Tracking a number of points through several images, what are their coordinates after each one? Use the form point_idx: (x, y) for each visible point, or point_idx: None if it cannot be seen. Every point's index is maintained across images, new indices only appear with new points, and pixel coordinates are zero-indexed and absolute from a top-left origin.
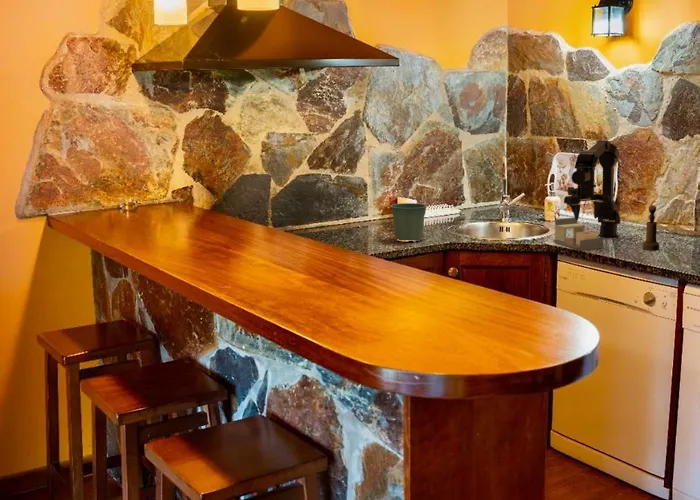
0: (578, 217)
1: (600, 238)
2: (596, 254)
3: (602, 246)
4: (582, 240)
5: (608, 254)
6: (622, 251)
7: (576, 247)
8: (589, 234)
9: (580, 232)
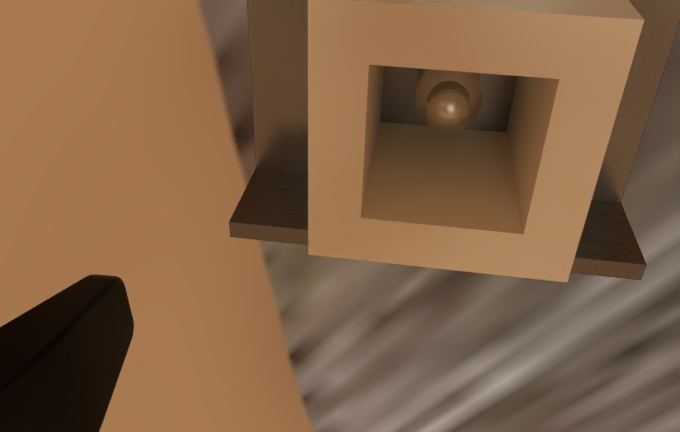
0: (96, 423)
1: (587, 269)
2: (301, 361)
3: (608, 197)
4: (258, 239)
5: (398, 408)
6: (621, 395)
7: (256, 88)
8: (409, 262)
9: (388, 48)
